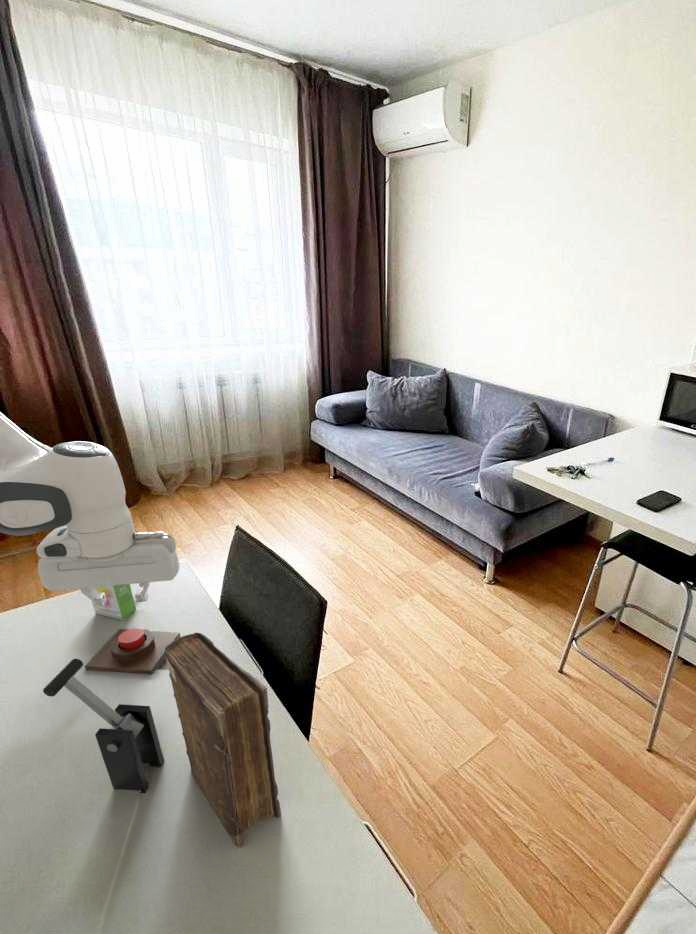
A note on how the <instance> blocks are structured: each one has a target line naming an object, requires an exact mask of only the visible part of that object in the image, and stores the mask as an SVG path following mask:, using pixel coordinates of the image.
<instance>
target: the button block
mask: <svg viewBox="0 0 696 934" xmlns="http://www.w3.org/2000/svg"><path fill="white" fill-rule="evenodd" d="M130 629H131V628H129V629H128V628H119V629H118V630H116V632H114V634H113V635H112V636H111V637H110V638H109V639H108V640H107V641H106V642H105V644H103V646H102V647H101V648H100V649H99V650H98V651H97V652H96V653H95V654H94V655H93V656H92V657H91V658H90V659H89V661H87V663H86V664H84V669H85V671H94V672H106V673H107V672H108V673H122V674H123V673H126V674H139V675H153V674H154V672H155V671H156V670H161V669H162V668H163V667H164V666H165V664H166V663H167V660H166V656H165V651H164V650H165V647H166V646H167V645H169V644H170V643H172V642H173V641H174V640H176V639H178V638H180V637H182V636H181V632H176V631H175V632H174V631H160V630H159V631H158V630H150V629H149V628H140V629H141V630H143V633H144V637H145V642H144V643H143V644H142V645H141V646H139V647H137V648H134V649H131V650H123V649H121V647H120V644H119V640H118V638H119V636H120V635H121V634H122V633H123V632H125V631H127V630H130Z"/></svg>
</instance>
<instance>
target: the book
mask: <svg viewBox="0 0 696 934" xmlns="http://www.w3.org/2000/svg"><path fill="white" fill-rule="evenodd" d="M164 651H165V656H166V660H167V661H166V663H167V664H166V665H167V668H168V672H169V673H168V676H169V679H170V682H171V687H172V689H173V697H174V699H175V704H176V707H177V708H176V709H177V711H178V715H177V716H178V718H179V721H180V725H181V730H182V733H181V734H182V736H183V739H184V744H185V748H186V751H185V752H186V755H187V757H188V760H189V761H188V762H189V765H190V769H191V775H192V777H193V779H194V781H195V783H196V784H197V786H198V788H199V790H200V791H201V792H202V794H203V796H204V798H205V799H206V801H207V802H208V805H209V806H210V808H211V809H212V811H213V812H214V814H215V816H216V817H217V818H218V820H219V822H220V823H221V825H222V826H223V828H224V829H225V830H226V831H225V832H227V834H228V836H229V837H230V838H231V840H232V843H233V844H234V846H235V845H236V847H238V849H240V848H243V847H244V843H243V834H245V832H246V830H249V829H250V828H251V826H253V825H256V823H258V822H260V821H261V820H263V819H266V818H267V817H269V816H271V817H276V819H277V818H280V817H281V816H282V809H281V803H280V801H279V799H278V795H279V788H278V785H277V782H276V776H275V775H276V774H275V765H274V760H273V759H274V758H273V750H272V744H271V721H270V719H269V717H268V716H269V697H268V696H269V695H268V688H267V687H266V686H265V685H264V683H262V682H261V681H260V680H259V679H258V678H257V677H254V676H253V675H252V674H251V673H250V672H249V671H248V672H247V671H246V670H244V669H243V668H242V667H241V666H240V665H238V664H237V663H236V662H234V661H233V660H232V659H231V658H230V657H228V656H227V655H226V654H225V653H224V652H223V651H221V650H220V649H219V648H218V647H217V646H216V645H215V644H214V641H212V640H211V639H210V638H208V636H206V635H205V634H203V633H201V632H194V633H189V634H186V635H183V636H181V637H180V638H178V639H176V640H174V641H173V642H172V643H170V644H169V645H167V646H166V647H165V650H164Z"/></svg>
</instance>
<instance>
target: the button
mask: <svg viewBox="0 0 696 934" xmlns="http://www.w3.org/2000/svg"><path fill="white" fill-rule="evenodd" d="M129 629H130V630H127V631H125V632H123V633H122V634H121V635H120V636H119V638H118V640H119V644H120V647H121V649H123V650H131V649H134V648H137V647H139V646H141V645H142V644H143V643H144V642H145V637H144V633H143V630H141V629H142V628H137V627H136V628H129Z"/></svg>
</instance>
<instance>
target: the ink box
mask: <svg viewBox="0 0 696 934" xmlns="http://www.w3.org/2000/svg"><path fill="white" fill-rule="evenodd" d="M94 588H95V589H96V590H97V591H98V592H99V593H105V597H106V603H104V605H103V606H93V609H94V613H95V614H96V615H100V616H104V617H108V618H112V619H115V620H119V621H124V620H126V619H127V618H128V617H129V616H130V615H131V614H133V613H134V612H135V611H136V610H137V606H136V603H135V602H136V601H135V599H134V598H135V597H134V595H133V591H132V587H131V584H124V585H113V586H102V587H94ZM91 603H92V602H91ZM92 605H93V603H92Z"/></svg>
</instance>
